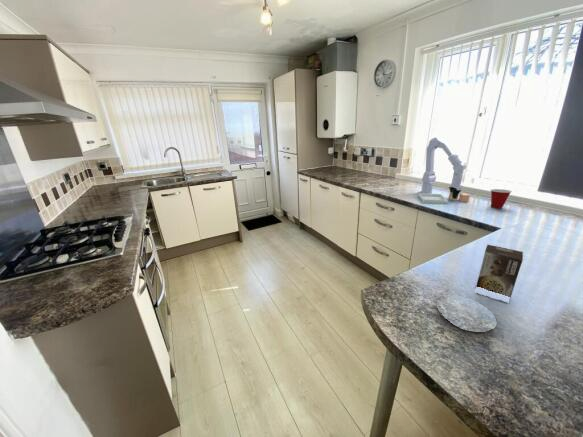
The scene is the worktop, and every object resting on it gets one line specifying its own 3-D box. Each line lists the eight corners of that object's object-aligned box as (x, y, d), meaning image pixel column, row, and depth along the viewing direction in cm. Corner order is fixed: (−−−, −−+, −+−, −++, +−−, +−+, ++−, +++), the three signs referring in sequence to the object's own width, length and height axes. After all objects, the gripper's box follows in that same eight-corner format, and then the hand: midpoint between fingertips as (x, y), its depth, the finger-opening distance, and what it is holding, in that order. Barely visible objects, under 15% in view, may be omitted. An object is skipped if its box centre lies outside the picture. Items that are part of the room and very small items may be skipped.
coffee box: (509, 294, 81) (524, 251, 75) (508, 304, 77) (524, 259, 71) (476, 284, 87) (487, 243, 81) (473, 292, 82) (485, 250, 77)
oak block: (448, 198, 185) (449, 192, 184) (455, 198, 184) (456, 192, 182) (450, 200, 181) (451, 193, 180) (457, 200, 180) (458, 193, 178)
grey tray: (417, 196, 193) (418, 193, 192) (440, 197, 189) (441, 194, 188) (422, 202, 177) (423, 199, 176) (447, 203, 173) (448, 200, 172)
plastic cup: (499, 204, 167) (504, 187, 163) (510, 209, 157) (516, 191, 153) (482, 204, 168) (486, 188, 164) (492, 209, 158) (497, 192, 154)
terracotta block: (458, 199, 181) (460, 193, 179) (465, 200, 180) (467, 193, 178) (461, 201, 177) (462, 195, 175) (468, 201, 176) (469, 195, 174)
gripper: (467, 181, 170) (462, 200, 175) (459, 177, 183) (455, 195, 188) (455, 181, 172) (451, 200, 177) (449, 177, 185) (445, 194, 190)
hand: (453, 197), depth 182 cm, fingers closed on oak block, 4 cm apart
